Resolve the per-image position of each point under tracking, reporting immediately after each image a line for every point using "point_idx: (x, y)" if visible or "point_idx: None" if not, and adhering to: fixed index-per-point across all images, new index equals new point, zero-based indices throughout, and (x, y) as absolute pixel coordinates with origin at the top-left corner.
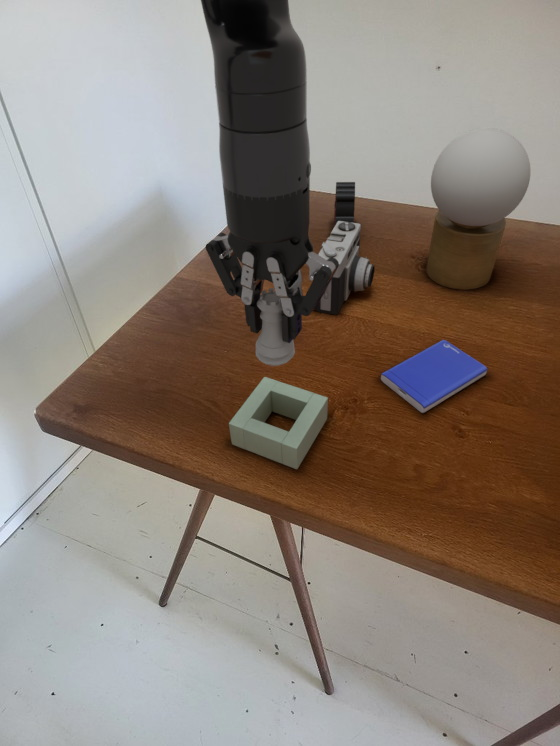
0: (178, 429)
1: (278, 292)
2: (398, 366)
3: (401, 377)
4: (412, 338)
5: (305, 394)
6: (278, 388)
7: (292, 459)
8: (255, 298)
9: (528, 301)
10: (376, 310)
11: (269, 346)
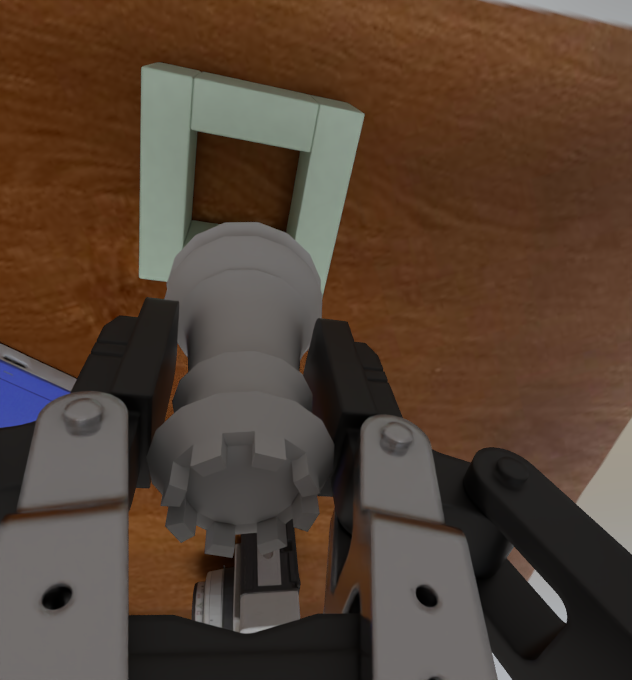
0: (492, 116)
1: (93, 540)
2: None
3: (29, 396)
4: None
5: None
6: None
7: (165, 66)
8: (347, 466)
9: None
10: (172, 537)
11: (242, 271)
